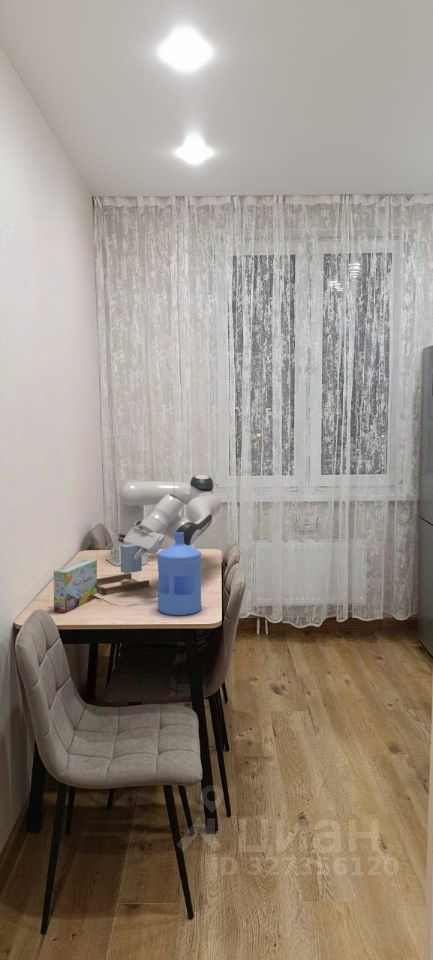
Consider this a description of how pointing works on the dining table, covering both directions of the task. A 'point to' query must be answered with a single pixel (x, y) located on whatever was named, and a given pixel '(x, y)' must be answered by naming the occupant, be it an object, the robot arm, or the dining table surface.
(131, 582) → the offcut upper
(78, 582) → the snack box
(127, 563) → the board
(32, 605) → the dining table surface
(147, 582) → the frame
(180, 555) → the water jug
